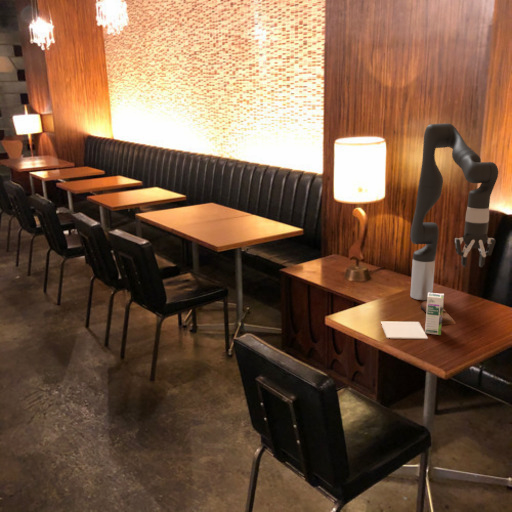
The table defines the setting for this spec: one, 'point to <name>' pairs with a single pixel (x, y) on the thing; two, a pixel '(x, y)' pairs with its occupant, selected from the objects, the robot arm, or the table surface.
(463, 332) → the table surface
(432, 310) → the syrup box
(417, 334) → the placemat
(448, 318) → the sunglasses case
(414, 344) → the table surface
